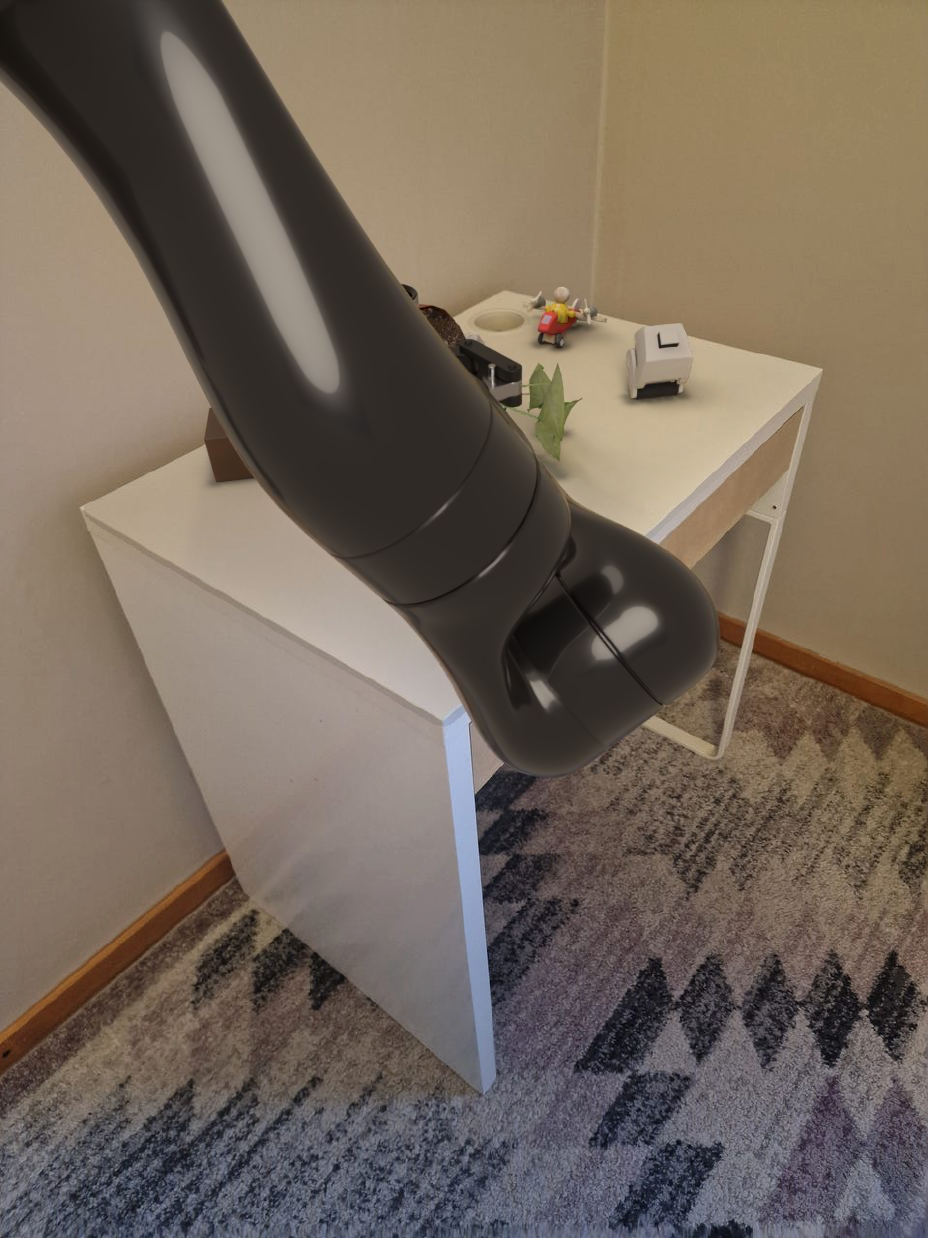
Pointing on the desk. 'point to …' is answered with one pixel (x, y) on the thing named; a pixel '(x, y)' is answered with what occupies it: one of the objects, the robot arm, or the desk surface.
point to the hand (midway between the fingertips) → (378, 344)
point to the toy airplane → (560, 315)
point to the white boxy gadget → (659, 361)
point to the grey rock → (474, 337)
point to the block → (223, 453)
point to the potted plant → (540, 386)
